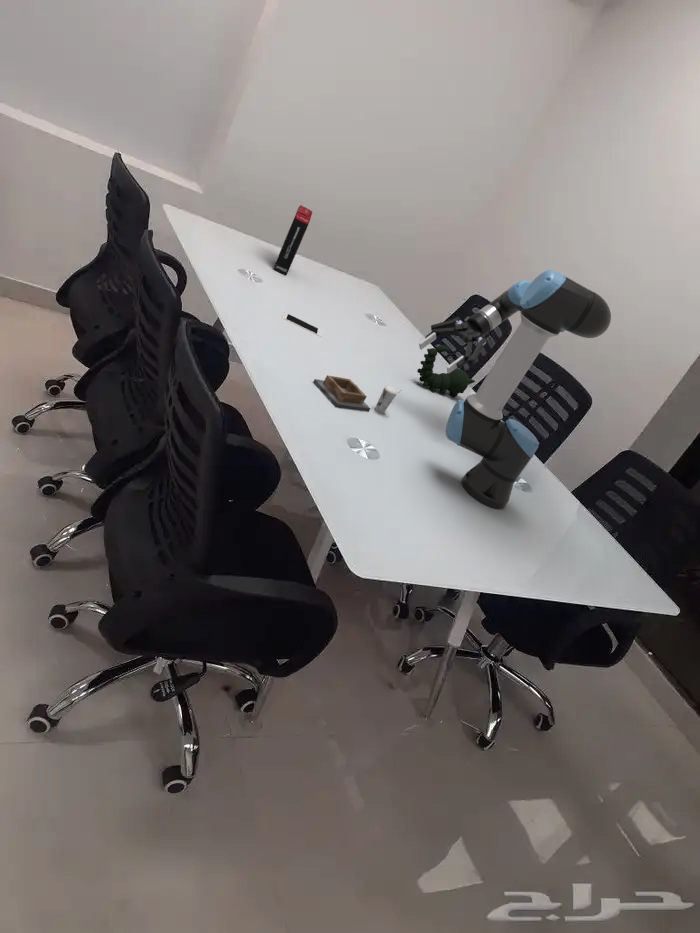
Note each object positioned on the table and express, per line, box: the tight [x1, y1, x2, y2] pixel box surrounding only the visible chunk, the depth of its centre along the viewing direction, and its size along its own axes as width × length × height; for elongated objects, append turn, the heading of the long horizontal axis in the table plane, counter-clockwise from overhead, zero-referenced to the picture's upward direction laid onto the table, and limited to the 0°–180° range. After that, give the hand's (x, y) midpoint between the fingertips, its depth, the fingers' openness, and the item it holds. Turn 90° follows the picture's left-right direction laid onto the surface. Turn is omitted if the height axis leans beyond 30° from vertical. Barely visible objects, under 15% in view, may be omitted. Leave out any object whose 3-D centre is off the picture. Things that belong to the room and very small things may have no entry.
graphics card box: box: [273, 204, 313, 276], centre depth 314 cm, size 17×7×27 cm, turn 1°
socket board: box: [313, 374, 371, 412], centre depth 226 cm, size 14×14×4 cm
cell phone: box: [282, 312, 324, 338], centre depth 269 cm, size 8×16×1 cm, turn 89°
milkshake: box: [374, 384, 403, 415], centre depth 230 cm, size 4×5×10 cm
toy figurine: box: [416, 344, 476, 398], centre depth 275 cm, size 9×19×25 cm
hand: (433, 358), depth 230 cm, fingers open, 13 cm apart
